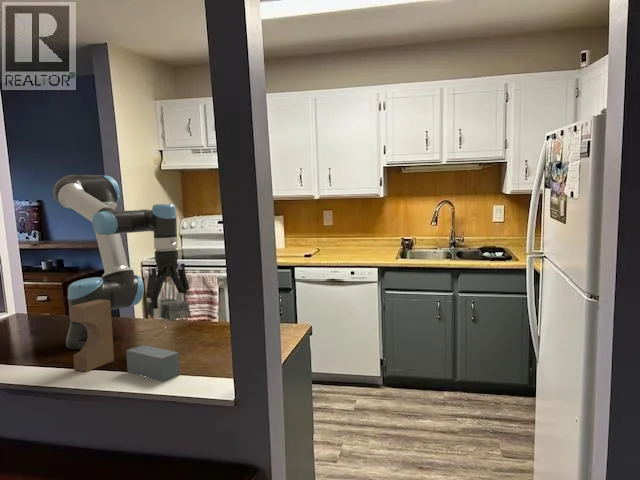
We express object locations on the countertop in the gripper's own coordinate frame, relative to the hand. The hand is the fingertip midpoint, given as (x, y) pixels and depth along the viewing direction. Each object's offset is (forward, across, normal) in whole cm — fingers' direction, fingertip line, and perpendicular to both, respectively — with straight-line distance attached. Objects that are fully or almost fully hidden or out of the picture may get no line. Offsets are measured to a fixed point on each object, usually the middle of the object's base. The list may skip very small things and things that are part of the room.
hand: (169, 314), depth 168 cm
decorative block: (+12, -23, +9) cm, 28 cm away
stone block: (+1, 0, 0) cm, 1 cm away
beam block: (+12, -19, -14) cm, 27 cm away
